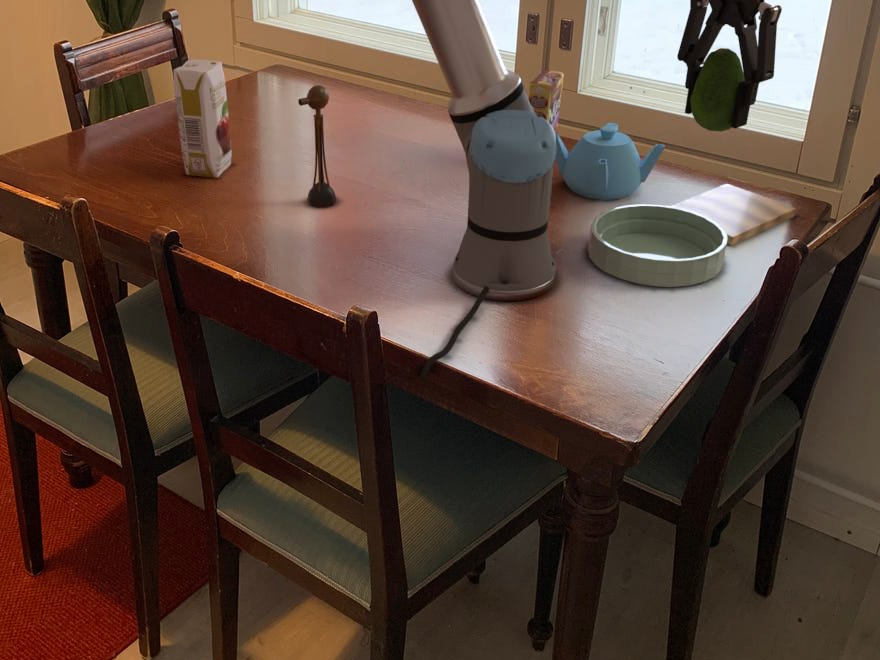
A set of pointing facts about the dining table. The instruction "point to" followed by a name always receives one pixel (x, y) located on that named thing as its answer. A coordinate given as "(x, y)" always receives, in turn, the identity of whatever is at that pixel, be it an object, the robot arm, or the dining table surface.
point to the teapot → (604, 164)
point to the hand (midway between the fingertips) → (715, 118)
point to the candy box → (547, 96)
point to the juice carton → (203, 117)
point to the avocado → (717, 90)
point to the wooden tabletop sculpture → (319, 150)
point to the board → (738, 211)
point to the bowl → (657, 245)
